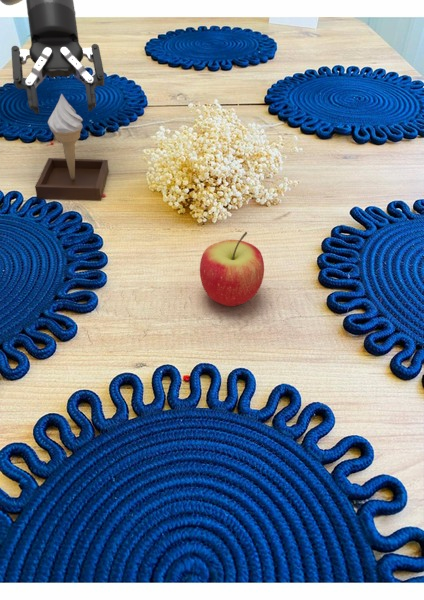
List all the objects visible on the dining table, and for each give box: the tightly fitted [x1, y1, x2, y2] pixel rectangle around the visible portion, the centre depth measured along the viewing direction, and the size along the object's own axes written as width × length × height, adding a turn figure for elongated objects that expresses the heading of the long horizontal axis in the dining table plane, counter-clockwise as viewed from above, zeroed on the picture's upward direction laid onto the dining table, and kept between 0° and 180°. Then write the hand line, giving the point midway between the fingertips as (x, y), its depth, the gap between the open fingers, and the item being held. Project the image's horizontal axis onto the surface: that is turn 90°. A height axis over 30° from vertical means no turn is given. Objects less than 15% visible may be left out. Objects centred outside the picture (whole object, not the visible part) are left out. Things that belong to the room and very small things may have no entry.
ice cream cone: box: [47, 93, 84, 180], centre depth 88 cm, size 6×6×15 cm
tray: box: [34, 157, 110, 201], centre depth 93 cm, size 11×11×2 cm
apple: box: [199, 231, 265, 307], centre depth 68 cm, size 8×8×10 cm
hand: (63, 110), depth 86 cm, fingers open, 8 cm apart
